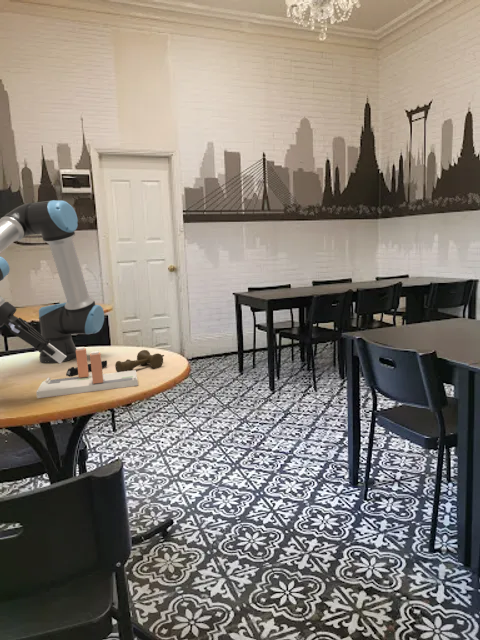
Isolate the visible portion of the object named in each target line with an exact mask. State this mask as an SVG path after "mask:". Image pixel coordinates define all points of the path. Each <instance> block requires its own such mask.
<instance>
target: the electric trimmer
mask: <svg viewBox="0 0 480 640" xmlns="http://www.w3.org/2000/svg"><path fill="white" fill-rule="evenodd" d="M101 363H102V369H103V368H106V367H107V366H108V360H101ZM88 372H92V370H91V363H89V364H88ZM65 375H66V377H68V378H71V377H74V376H75V375H78V367H74V366H71V367H70V368H68V369H67V371H66V374H65Z"/></svg>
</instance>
